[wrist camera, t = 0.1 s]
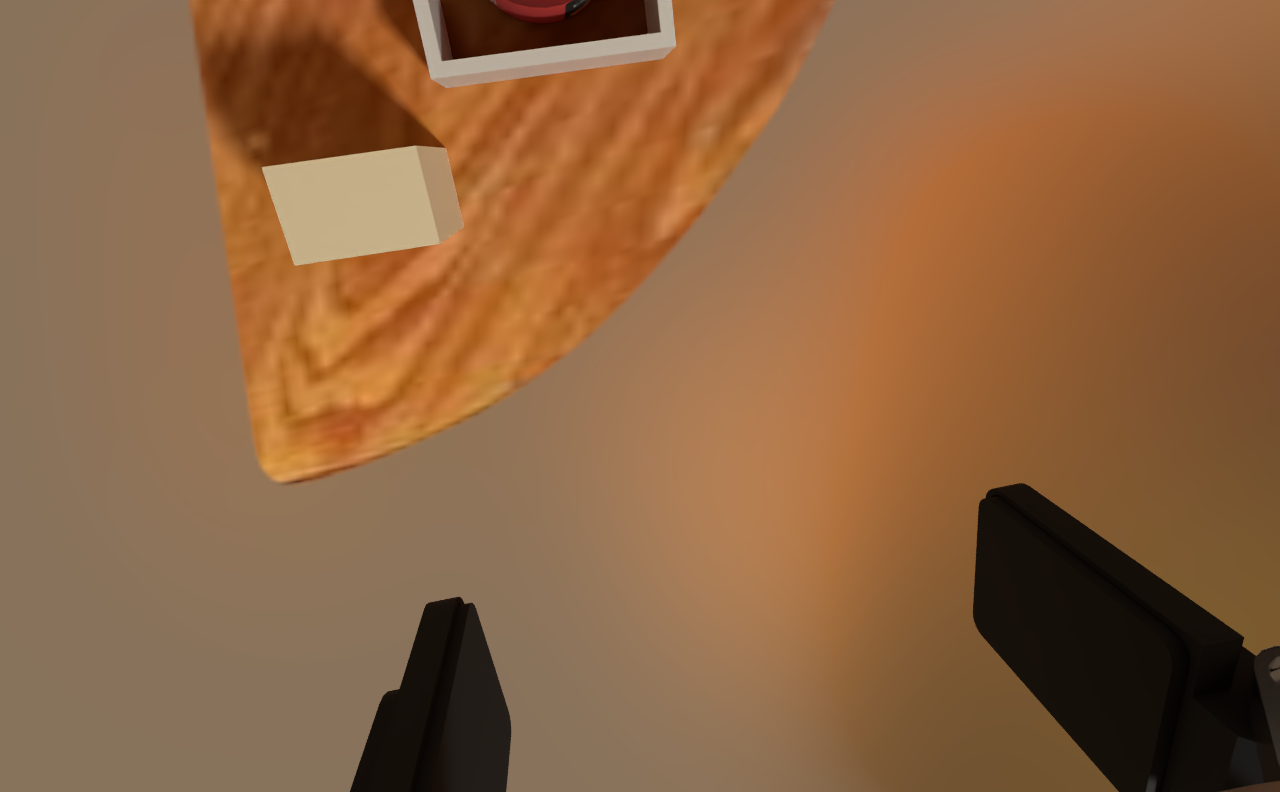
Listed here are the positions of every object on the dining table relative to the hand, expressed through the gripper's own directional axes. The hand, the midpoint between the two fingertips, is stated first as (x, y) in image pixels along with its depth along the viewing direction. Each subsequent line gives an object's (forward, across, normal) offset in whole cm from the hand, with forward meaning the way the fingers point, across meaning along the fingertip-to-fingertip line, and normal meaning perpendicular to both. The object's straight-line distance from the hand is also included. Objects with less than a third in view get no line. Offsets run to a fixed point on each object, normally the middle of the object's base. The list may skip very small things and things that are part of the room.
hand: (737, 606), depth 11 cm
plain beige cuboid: (+31, +12, -7) cm, 34 cm away
